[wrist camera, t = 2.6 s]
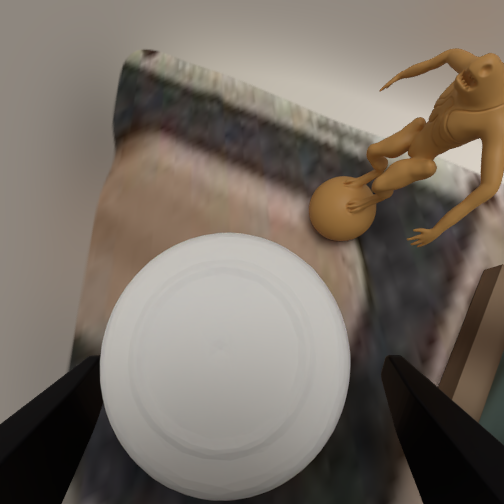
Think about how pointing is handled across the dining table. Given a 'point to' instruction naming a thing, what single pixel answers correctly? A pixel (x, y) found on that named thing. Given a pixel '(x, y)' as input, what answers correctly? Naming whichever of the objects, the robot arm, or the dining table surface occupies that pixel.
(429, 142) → the figurine
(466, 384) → the tower base
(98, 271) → the dining table surface
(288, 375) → the sprinkles bottle
